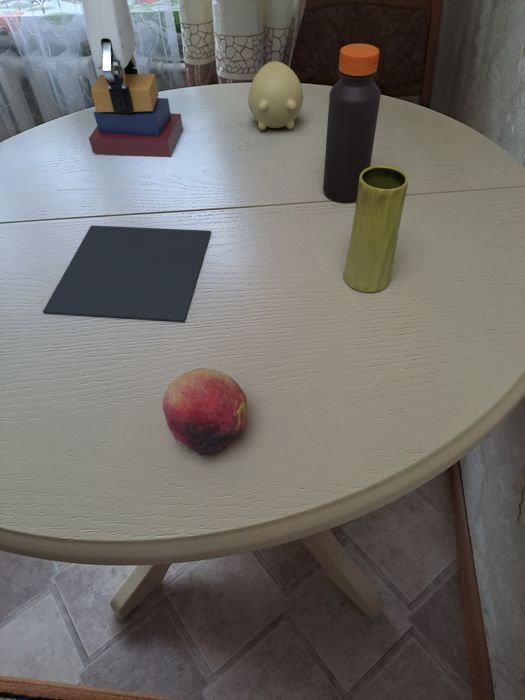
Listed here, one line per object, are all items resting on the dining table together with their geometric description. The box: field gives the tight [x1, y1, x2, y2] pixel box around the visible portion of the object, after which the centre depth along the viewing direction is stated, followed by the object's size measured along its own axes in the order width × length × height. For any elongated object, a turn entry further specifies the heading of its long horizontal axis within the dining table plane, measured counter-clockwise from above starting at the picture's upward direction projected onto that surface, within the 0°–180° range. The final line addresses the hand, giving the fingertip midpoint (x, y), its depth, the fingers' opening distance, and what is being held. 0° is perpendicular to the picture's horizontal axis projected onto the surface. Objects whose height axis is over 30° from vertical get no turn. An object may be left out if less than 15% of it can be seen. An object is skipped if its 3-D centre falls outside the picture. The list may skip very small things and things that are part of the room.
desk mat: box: [42, 225, 212, 323], centre depth 67 cm, size 18×18×1 cm
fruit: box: [162, 367, 248, 456], centre depth 47 cm, size 8×8×8 cm
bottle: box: [322, 43, 382, 204], centre depth 70 cm, size 7×7×20 cm
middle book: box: [93, 97, 172, 137], centre depth 87 cm, size 11×7×4 cm, turn 79°
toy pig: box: [247, 61, 304, 131], centre depth 90 cm, size 10×12×11 cm
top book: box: [90, 73, 159, 112], centre depth 84 cm, size 10×7×4 cm
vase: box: [342, 164, 409, 293], centre depth 59 cm, size 6×6×14 cm
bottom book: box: [88, 113, 184, 158], centre depth 90 cm, size 14×10×3 cm
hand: (128, 101), depth 85 cm, fingers closed on top book, 6 cm apart
